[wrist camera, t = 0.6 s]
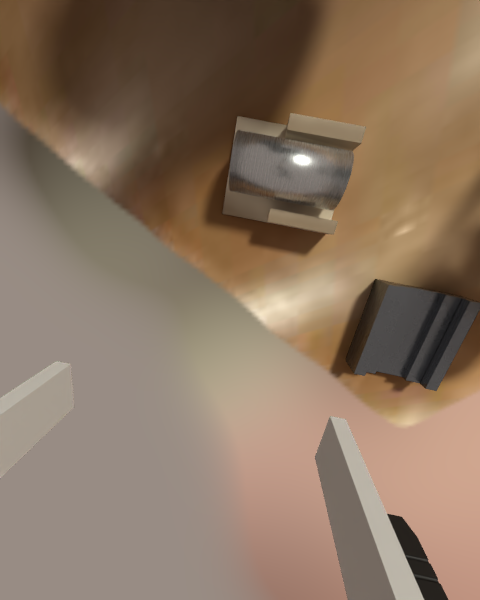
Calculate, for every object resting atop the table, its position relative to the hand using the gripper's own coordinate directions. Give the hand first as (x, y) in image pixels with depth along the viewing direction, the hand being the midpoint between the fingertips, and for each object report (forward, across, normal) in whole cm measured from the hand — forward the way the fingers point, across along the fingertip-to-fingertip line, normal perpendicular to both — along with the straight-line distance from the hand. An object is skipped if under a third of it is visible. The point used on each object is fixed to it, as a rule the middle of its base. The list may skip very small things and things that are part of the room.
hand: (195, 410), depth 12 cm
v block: (+24, +24, -2) cm, 34 cm away
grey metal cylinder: (+23, +3, +15) cm, 28 cm away
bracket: (+24, +3, +15) cm, 28 cm away
